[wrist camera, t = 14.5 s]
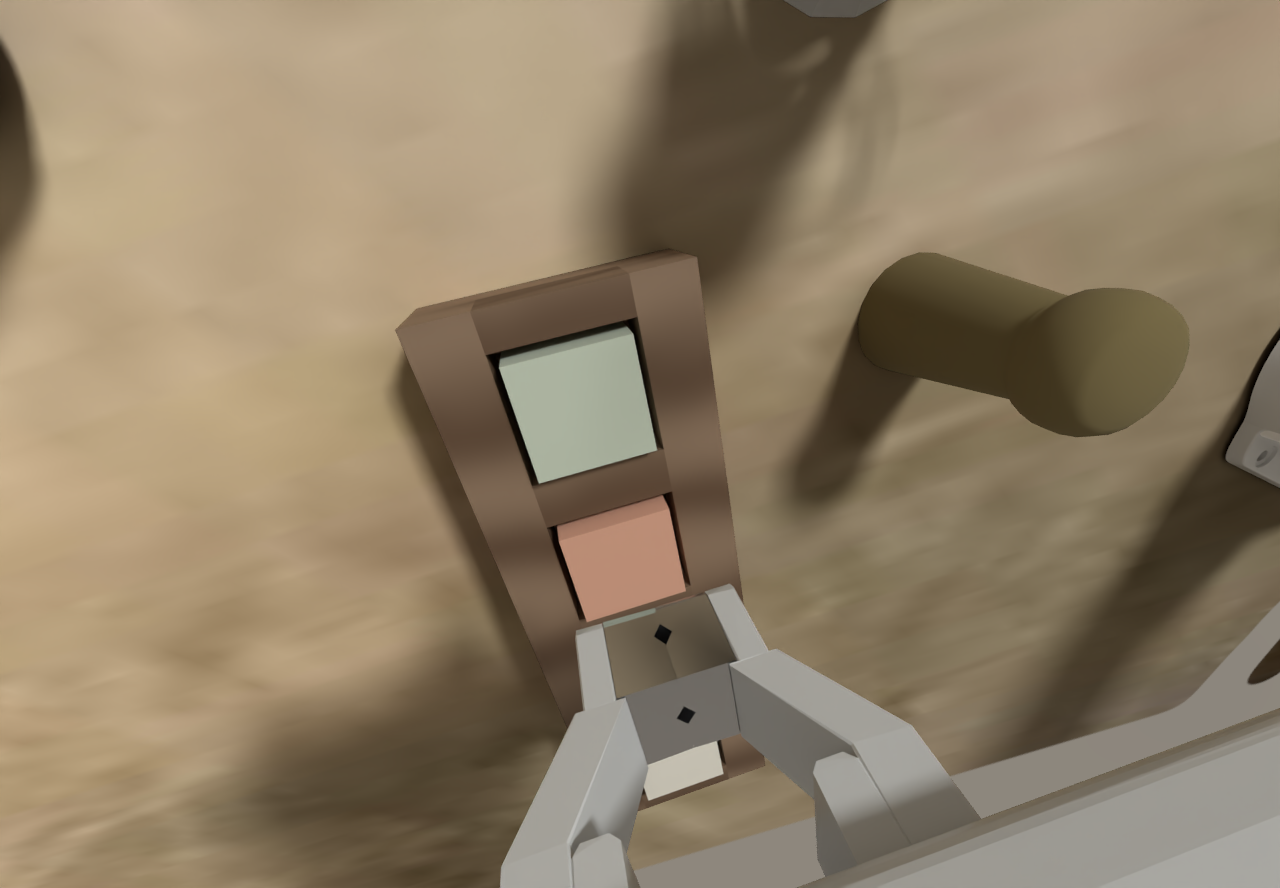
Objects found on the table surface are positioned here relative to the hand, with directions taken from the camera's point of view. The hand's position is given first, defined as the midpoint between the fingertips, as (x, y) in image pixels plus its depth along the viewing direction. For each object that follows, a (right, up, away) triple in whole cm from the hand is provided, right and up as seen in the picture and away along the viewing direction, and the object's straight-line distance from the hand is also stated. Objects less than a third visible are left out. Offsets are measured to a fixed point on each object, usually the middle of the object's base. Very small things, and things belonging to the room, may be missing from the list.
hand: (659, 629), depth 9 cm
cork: (+14, +10, +17) cm, 24 cm away
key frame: (-1, -4, +20) cm, 20 cm away
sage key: (-3, +6, +12) cm, 14 cm away
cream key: (+2, -15, +23) cm, 28 cm away
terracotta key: (-2, -1, +16) cm, 16 cm away
